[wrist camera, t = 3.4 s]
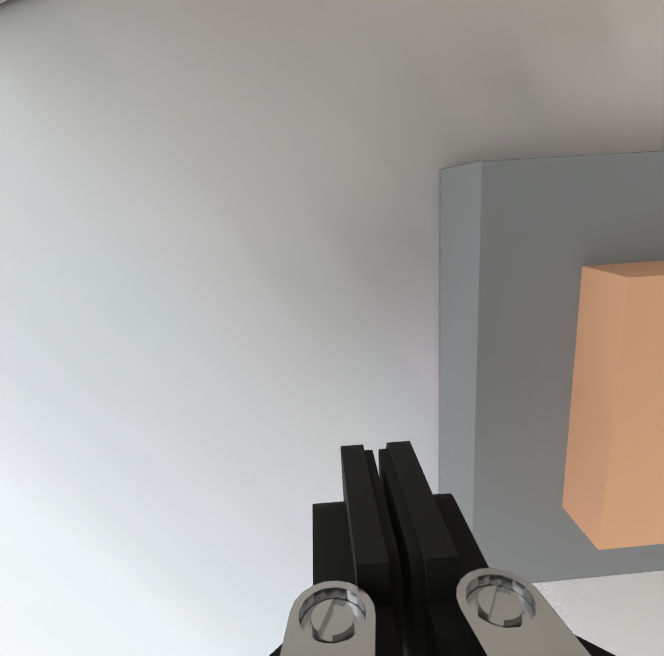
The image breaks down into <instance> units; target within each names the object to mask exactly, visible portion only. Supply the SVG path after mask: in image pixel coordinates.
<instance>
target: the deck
mask: <svg viewBox="0 0 664 656" xmlns="http://www.w3.org/2000/svg"><path fill="white" fill-rule="evenodd" d="M650 261H664V151H650V152H633V153H616V154H599V155H582V156H565V157H548V158H531V159H513V160H496V161H481V162H476V163H471V164H466V165H460V166H455V167H450V168H445V169H440V333H439V494H445V493H450V494H452V495H453V497H454V498H455V500H456V502H457V504H458V506H459V508H460V510H461V512H462V514H463V516H464V518H465V520H466V522H467V524H468V526H469V528H470V530H471V532H472V534H473V536H474V538H475V540H476V542H477V544H478V546H479V548H480V550H481V552H482V554H483V556H484V558H485V560H486V562H487V564H488V566H489V568H496V569H503V570H507V571H510V572H512V573H515V574H518V575H519V576H521V577H523V578H524V579H526V580H528V581H529V582H530V583H539V582H549V581H559V580H569V579H580V578H590V577H600V576H610V575H620V574H631V573H641V572H651V571H661V570H664V544H655V545H645V546H634V547H624V548H613V549H603V550H598V549H597V548H596V547H595V545H594V544H593V543H592V542H591V541H590V539H589V538H588V537H587V536H586V535H585V533H584V532H583V531H582V530H581V529H580V527H579V526H578V525H577V524H576V523H575V522H574V520H573V519H572V518H571V517H570V516H569V514H568V513H567V512H566V511H565V510H564V508H563V507H562V502H563V490H564V478H565V467H566V455H567V443H568V431H569V419H570V407H571V395H572V383H573V371H574V359H575V348H576V336H577V324H578V312H579V300H580V288H581V276H582V266H591V265H606V264H620V263H635V262H650Z"/></svg>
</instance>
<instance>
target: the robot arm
mask: <svg viewBox="0 0 664 656" xmlns="http://www.w3.org/2000/svg"><path fill="white" fill-rule="evenodd" d="M5 1H7V0H0V3H3V2H5ZM341 462H342V479H343V495H344V502H331V503H318V504H313V586H311V587H310V588H308V589H307V590H305V591H304V592H302V593H301V594H300V596H299V597H298V598H297V599H296V600H295V601H294V604H293V606H292V608H291V611H290V614H289V618H288V623H287V627H286V631H285V636H284V640H283V644H281V645H280V646H279V647H278V648H277V649H276V650H275V651H274V652H273V653H272V654H271V655H269V656H615V655H613V654H611V653H609V652H607V651H605V650H604V649H602V648H600V647H598V646H596V645H594V644H592V643H590V642H588V641H586V640H584V639H582V638H580V637H578V636H576V635H574V634H573V633H572V631H571V630H570V629H569V628H568V626H567V625H566V624H565V623H564V621H563V620H562V619H561V618H560V616H559V615H558V614H557V613H556V611H555V610H554V609H553V608H552V606H551V605H550V604H549V603H548V602H547V600H546V599H545V598H544V597H543V595H542V594H541V593H540V592H539V590H538V589H537V588H536V587H534V586H533V585H532V584H531V583H530V582H529V581H528V580H526V579H524V578H523V577H521V576H519V575H518V574H515V573H512V572H510V571H507V570H503V569H496V568H489V566H488V564H487V562H486V560H485V558H484V556H483V554H482V552H481V550H480V548H479V546H478V544H477V542H476V540H475V538H474V536H473V534H472V532H471V530H470V528H469V526H468V524H467V522H466V520H465V518H464V516H463V514H462V512H461V510H460V508H459V506H458V504H457V502H456V500H455V498H454V497H453V495H452V494H450V493H445V494H432V492H431V489H430V487H429V485H428V482H427V480H426V478H425V475H424V473H423V471H422V468H421V466H420V464H419V461H418V459H417V457H416V454H415V452H414V450H413V447H412V445H411V443H410V441H403V442H390V443H387V444H386V449H379V474H378V470H377V466H376V462H375V459H374V455H373V451H372V450H364V447H363V445H350V446H341Z"/></svg>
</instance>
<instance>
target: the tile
mask: <svg viewBox="0 0 664 656" xmlns="http://www.w3.org/2000/svg"><path fill="white" fill-rule="evenodd" d="M562 507H563V508H564V510H565V511H566V512H567V513H568V514H569V516H570V517H571V518H572V519H573V520H574V522H575V523H576V524H577V525H578V526H579V527H580V529H581V530H582V531H583V532H584V533H585V535H586V536H587V537H588V538H589V539H590V541H591V542H592V543H593V544H594V545H595V547H596V548H597V549H598V550H603V549H613V548H624V547H634V546H645V545H655V544H664V261H650V262H635V263H620V264H606V265H591V266H582V276H581V288H580V300H579V312H578V324H577V336H576V348H575V359H574V371H573V383H572V395H571V407H570V419H569V431H568V443H567V455H566V467H565V478H564V490H563V502H562Z"/></svg>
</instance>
